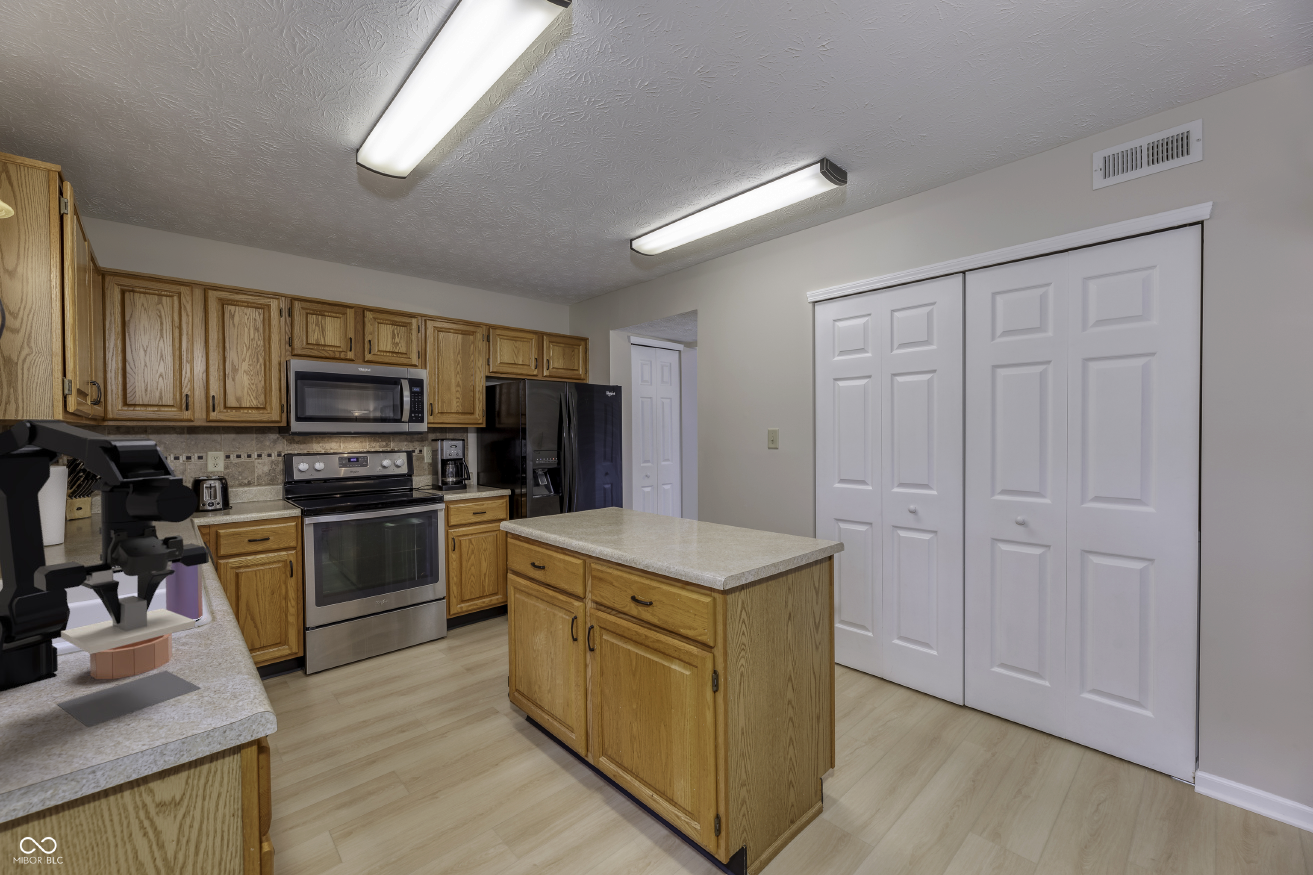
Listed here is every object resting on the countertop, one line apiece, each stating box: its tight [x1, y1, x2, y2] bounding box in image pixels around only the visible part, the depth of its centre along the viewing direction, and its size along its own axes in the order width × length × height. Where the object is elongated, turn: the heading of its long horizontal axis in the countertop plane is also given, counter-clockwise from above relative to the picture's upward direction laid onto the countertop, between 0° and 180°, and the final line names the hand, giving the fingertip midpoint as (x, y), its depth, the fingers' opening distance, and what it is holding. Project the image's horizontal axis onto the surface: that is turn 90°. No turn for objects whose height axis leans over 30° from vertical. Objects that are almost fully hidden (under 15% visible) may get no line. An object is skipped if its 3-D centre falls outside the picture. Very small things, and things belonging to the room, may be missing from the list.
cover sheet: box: [60, 595, 196, 655], centre depth 85 cm, size 12×12×5 cm
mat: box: [56, 670, 202, 728], centre depth 85 cm, size 13×13×1 cm
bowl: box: [89, 633, 173, 680], centre depth 96 cm, size 10×10×5 cm
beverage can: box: [165, 562, 204, 619], centre depth 119 cm, size 6×6×15 cm
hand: (129, 620), depth 85 cm, fingers closed on cover sheet, 2 cm apart
